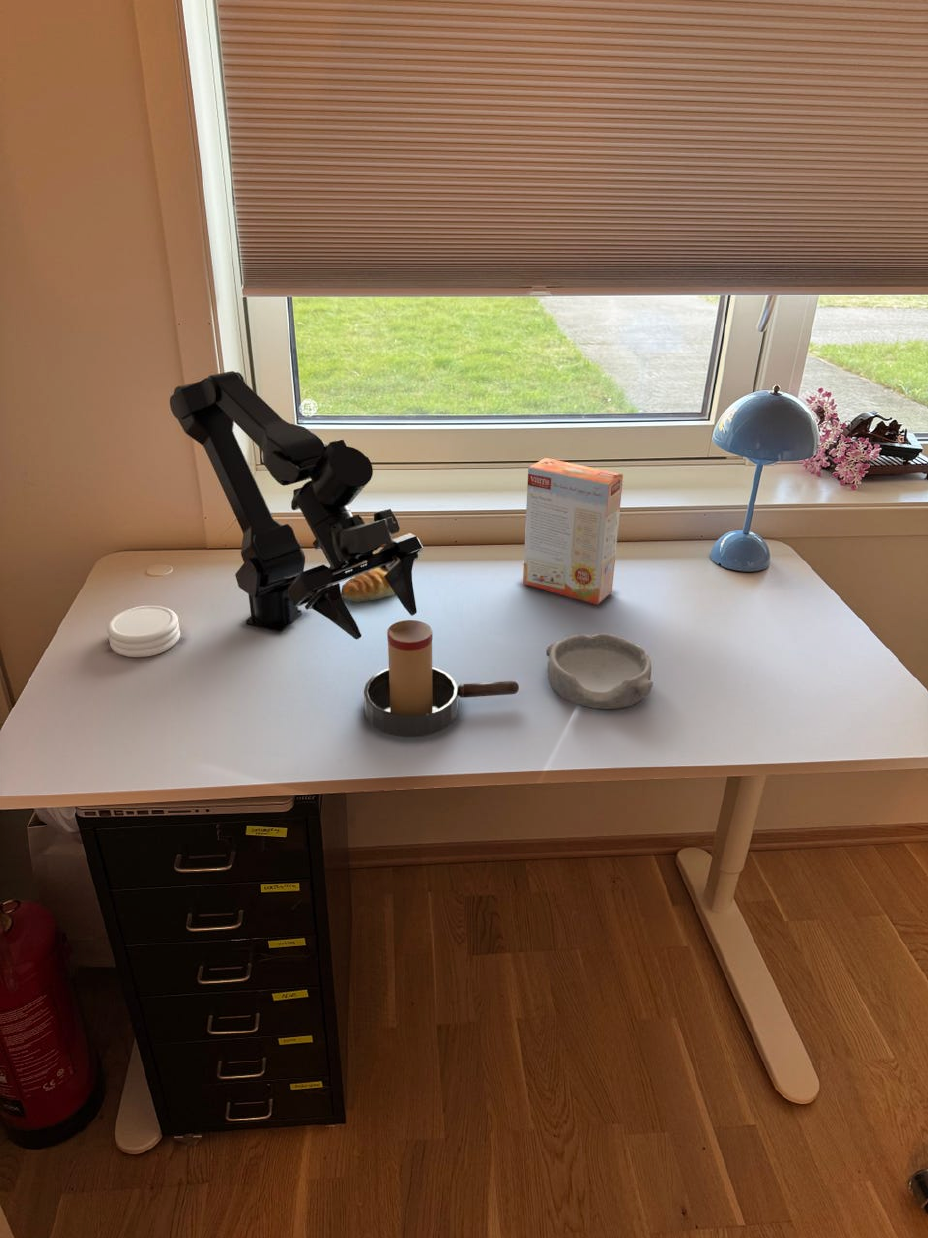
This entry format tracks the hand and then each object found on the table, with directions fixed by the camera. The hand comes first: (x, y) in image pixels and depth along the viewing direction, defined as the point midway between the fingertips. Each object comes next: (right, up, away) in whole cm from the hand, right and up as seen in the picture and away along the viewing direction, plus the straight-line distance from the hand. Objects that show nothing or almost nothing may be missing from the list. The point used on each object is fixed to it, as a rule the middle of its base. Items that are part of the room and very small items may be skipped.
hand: (387, 625), depth 121 cm
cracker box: (+27, +6, +34) cm, 44 cm away
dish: (+28, -8, +9) cm, 31 cm away
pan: (+3, -11, +3) cm, 12 cm away
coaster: (-37, -3, +18) cm, 41 cm away
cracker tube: (+3, -11, +2) cm, 12 cm away
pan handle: (+13, -9, +3) cm, 16 cm away
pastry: (-5, +5, +32) cm, 33 cm away
